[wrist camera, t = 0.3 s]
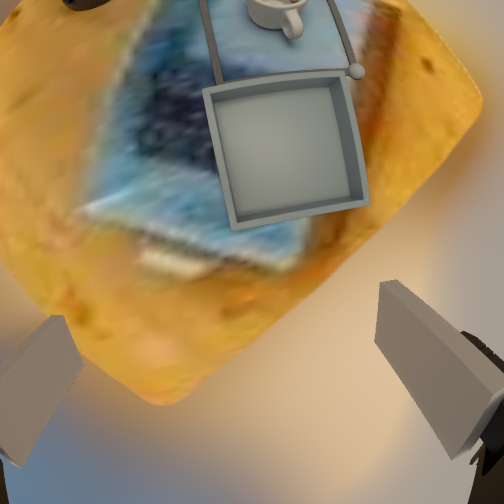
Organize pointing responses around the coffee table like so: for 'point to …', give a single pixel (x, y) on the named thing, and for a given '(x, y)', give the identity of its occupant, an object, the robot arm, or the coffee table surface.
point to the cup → (278, 15)
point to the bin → (286, 147)
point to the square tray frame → (353, 71)
